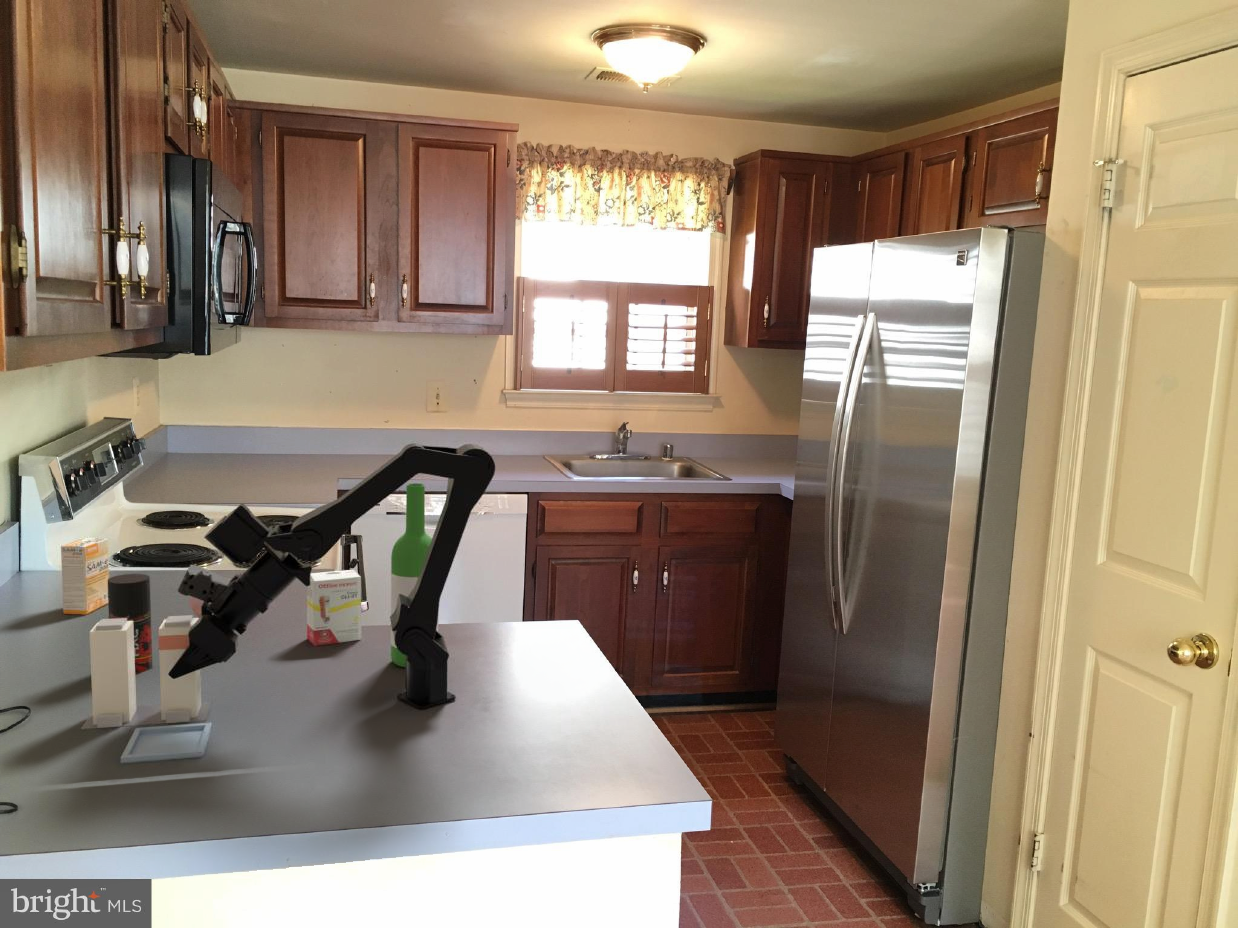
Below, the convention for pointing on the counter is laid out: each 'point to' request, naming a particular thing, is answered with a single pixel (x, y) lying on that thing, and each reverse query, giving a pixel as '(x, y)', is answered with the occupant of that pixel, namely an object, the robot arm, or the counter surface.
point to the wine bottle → (408, 555)
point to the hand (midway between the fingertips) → (176, 665)
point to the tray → (167, 743)
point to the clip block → (147, 717)
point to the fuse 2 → (171, 647)
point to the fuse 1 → (113, 668)
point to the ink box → (334, 607)
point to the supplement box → (85, 575)
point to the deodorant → (133, 613)
